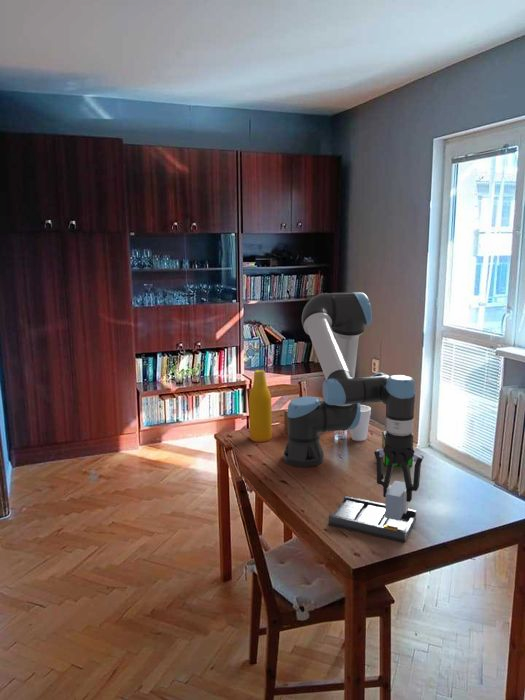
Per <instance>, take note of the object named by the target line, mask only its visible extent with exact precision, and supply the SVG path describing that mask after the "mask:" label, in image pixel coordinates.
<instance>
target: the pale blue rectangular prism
mask: <svg viewBox="0 0 525 700" xmlns="http://www.w3.org/2000/svg"><path fill="white" fill-rule="evenodd" d="M391 485H392V486H391V487H390V489H389V490H388V491H387V493H386V497H385V503H384V504H385V518H390V519H394V520H400V519H401V517H402V515H403V496H404V490H405V489H406V485H405V481H399V480H394V481H393V482H392V484H391Z"/></svg>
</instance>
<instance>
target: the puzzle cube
mask: <svg viewBox="0 0 525 700" xmlns="http://www.w3.org/2000/svg"><path fill="white" fill-rule="evenodd" d="M386 431H387V430H383V431H382V432H381V449H383V448H384V447H385V432H386ZM388 462H389V459H388V458H387V456H386V455H385V453H384V455H383V466H385V467H388ZM413 462H414V458H413V457H412V458H411V459H410V460H409V467H413ZM394 467H401V465H400V464H394Z"/></svg>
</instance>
